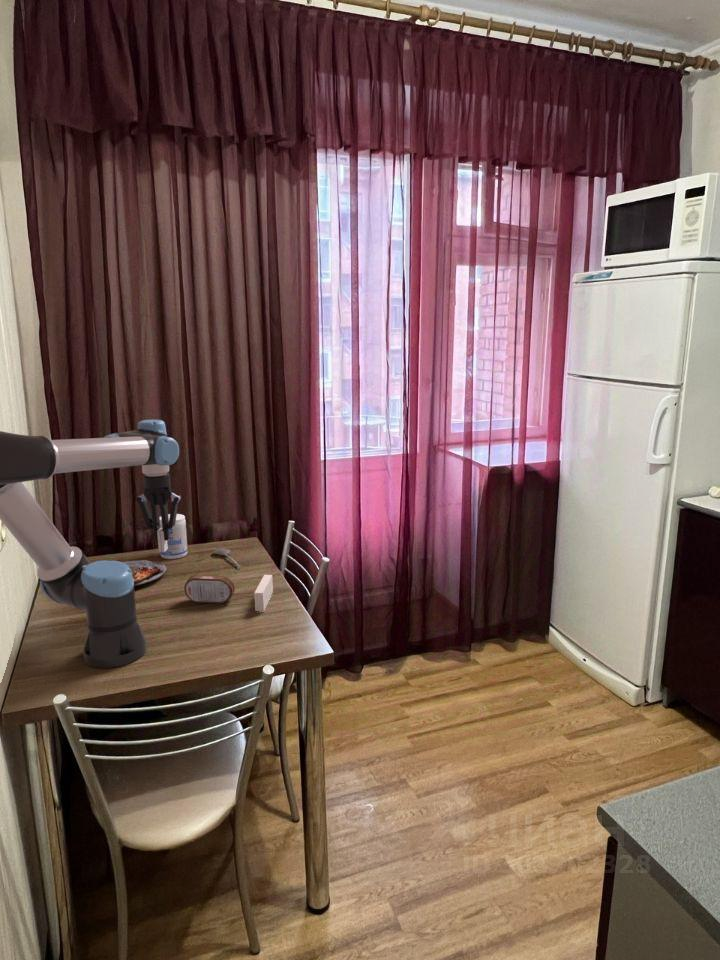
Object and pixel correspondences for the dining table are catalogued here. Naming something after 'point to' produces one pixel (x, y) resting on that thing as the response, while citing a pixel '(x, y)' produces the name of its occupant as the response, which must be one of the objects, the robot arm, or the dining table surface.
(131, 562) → the food plate
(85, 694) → the dining table surface
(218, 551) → the soupspoon
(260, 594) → the board
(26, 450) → the robot arm
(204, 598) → the tin
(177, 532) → the supplement tub
